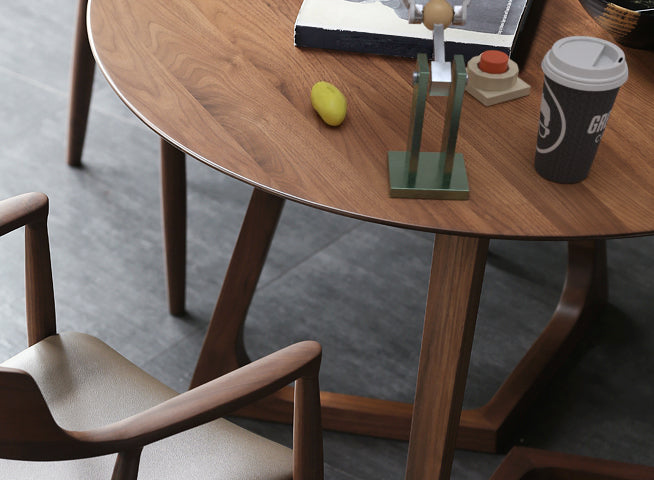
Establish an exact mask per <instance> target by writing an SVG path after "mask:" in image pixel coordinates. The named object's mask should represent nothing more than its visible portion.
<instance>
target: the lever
mask: <svg viewBox="0 0 654 480" xmlns="http://www.w3.org/2000/svg"><path fill="white" fill-rule="evenodd" d="M422 13H423V20H422V24H423V25H424V27H425V28H426V29H427V30H429V31H430V32H432V56H433V57H432V58H433V60H431V61H430V64H429V81H428V96H433V97H448V96H449V92H450V88H451V84H452V61H446V53H445V33H444V32H445V30H446V29H448V28H450V26H451V23H452V20H453V16H454V13H453V6H452V5H451V3H450V2H449V1H448V0H429V1H427V2H426V3H425V4H424V5H423V12H422Z"/></svg>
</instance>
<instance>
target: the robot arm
mask: <svg viewBox="0 0 654 480" xmlns="http://www.w3.org/2000/svg"><path fill="white" fill-rule="evenodd" d="M401 1H402V3H403V4H404V6H405V8H406V9H407V10H408V11H407V12H408V15H407V24H408V25H422V24H423V22H422V20H423V13H422V12H423V7H424V4H423V3H417V2H416V0H401ZM472 1H473V0H463V1H462V3H461V5H460V4H459V5H458V4H457V5H456V4H454V5H453V6H452V8H453V13H454V16H453V20H452V23H451V24H450V26H460V27H461V26H465V25H466V23H467V20H468V19H467V18H468V8H469V6H470V5H471V3H472Z"/></svg>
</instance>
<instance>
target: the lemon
mask: <svg viewBox="0 0 654 480" xmlns="http://www.w3.org/2000/svg"><path fill="white" fill-rule="evenodd" d="M310 102H311V105H312V107H313V109H314V110H315V111H316V112H317V114H318V115H319V116H320V117H321V119H322V121H324V122H325V123H326V124H327V125H329V126H332V127H337V126H339V125H341V124H342V123H343V121H344V120H345V118H346V116H347V108H348V104H347V98H346V97H345V95H344V94H343V93H342V91H340V89H339V88H337V86H335V85H333V84H332V83H329V82H327V81H323V80H322V81H318V82H316V83H315V84H314V85H313V86H312V88H311V92H310Z"/></svg>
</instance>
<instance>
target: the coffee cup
mask: <svg viewBox="0 0 654 480" xmlns="http://www.w3.org/2000/svg"><path fill="white" fill-rule="evenodd" d="M540 67H541V70H542V72H543V81H542V82H543V83H542V92H541V100H540V101H541V102H540V110H539V119H538V127H537V137H536V145H535V155H534V163H533V167H534V170H535V171H536V173H537V174H538V175H539V176H540V177H542V178H544V179H545V180H548V181H550V182H554V183H558V184H567V185H568V184H575V183H576V184H577V183H579V182H582V181H584V180H586V178H588V176H589V174H590V171H591V168H592V166H593V163H594V161H595V157H596V155H597V152H598V149H599V146H600V143H601V140H602V139H603V135H604V132H605V130H606V127H607V124H608V121H609V119H610V116H611V113H612V110H613V107H614V105H615V102H616V100H617V98H618V97H617V96H618V94H619V91H620V89H621V86H622V85H624V84H625V83H626V82H627V81H628V79H629V68H628V63H627V61H626V56H625V52H624V51H623V50H622V48H620V47H619V46H618V45H616V44H615V43H613V42H611V41H608V40H605V39H603V38H598V37H594V36H589V35H588V36H586V35H573V36H572V35H571V36H566V37H563V38H560V39H558V40H557V41H555V42H554V44H552V47H551V48H550V49H549V50H548V51H547V52H546V53H545V55H544V56H543V58H542V60H541V63H540Z"/></svg>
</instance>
